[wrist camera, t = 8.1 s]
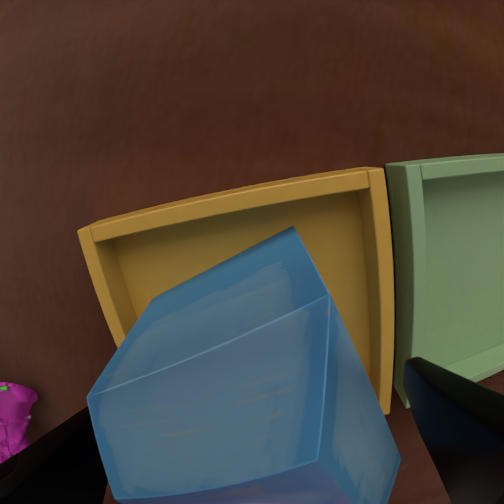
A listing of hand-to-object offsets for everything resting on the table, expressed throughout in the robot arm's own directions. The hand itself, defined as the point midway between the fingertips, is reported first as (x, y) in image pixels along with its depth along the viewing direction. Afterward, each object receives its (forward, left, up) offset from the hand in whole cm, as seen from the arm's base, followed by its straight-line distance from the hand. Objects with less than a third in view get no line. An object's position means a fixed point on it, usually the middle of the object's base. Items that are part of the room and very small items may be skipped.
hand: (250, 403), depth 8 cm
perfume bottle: (0, 0, -5) cm, 5 cm away
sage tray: (-12, 0, -5) cm, 13 cm away
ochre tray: (0, 0, -5) cm, 5 cm away
